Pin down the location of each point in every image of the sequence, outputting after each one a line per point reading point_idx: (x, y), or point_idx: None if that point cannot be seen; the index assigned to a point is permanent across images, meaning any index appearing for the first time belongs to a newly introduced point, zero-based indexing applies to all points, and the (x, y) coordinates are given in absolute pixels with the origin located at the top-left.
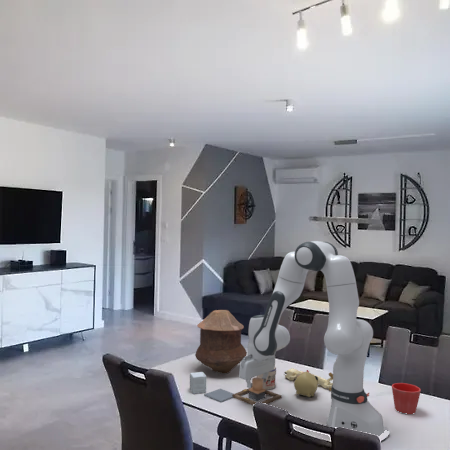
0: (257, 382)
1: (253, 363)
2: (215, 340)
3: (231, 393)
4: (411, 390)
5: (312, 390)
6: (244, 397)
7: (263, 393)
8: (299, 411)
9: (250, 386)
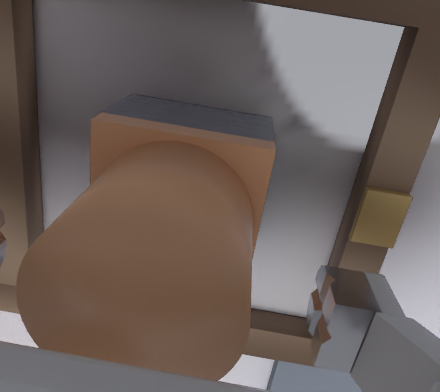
0: (237, 252)
1: None
2: None
3: (284, 386)
4: None
5: None
6: (343, 256)
7: (152, 114)
8: None
9: (385, 286)
